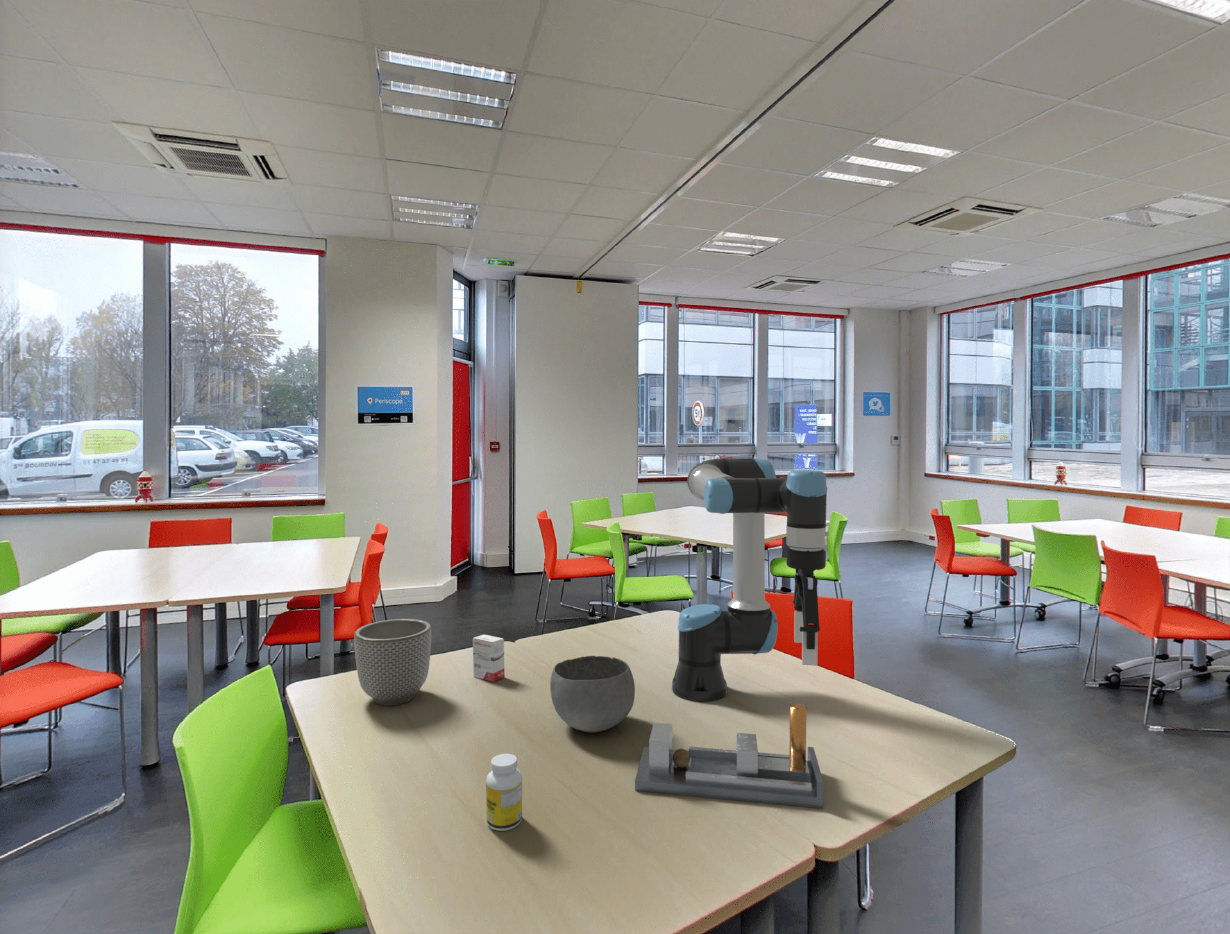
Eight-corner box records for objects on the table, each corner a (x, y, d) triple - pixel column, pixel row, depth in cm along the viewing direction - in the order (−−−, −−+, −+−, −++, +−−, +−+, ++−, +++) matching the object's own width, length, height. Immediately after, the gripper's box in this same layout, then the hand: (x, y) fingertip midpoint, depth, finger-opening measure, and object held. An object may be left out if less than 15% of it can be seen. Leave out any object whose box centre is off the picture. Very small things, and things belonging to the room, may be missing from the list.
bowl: (647, 717, 158) (647, 658, 157) (613, 753, 139) (613, 687, 138) (576, 702, 166) (575, 647, 166) (534, 735, 148) (534, 673, 147)
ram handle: (736, 780, 124) (737, 710, 123) (736, 760, 131) (736, 695, 131) (810, 786, 121) (811, 716, 121) (805, 766, 129) (806, 700, 128)
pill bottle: (488, 812, 117) (488, 751, 117) (523, 810, 118) (523, 750, 117) (484, 834, 111) (483, 769, 110) (521, 831, 111) (520, 768, 111)
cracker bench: (634, 790, 124) (634, 746, 124) (644, 755, 138) (644, 715, 138) (823, 808, 118) (823, 762, 118) (813, 770, 132) (813, 728, 131)
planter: (338, 706, 164) (337, 635, 163) (391, 680, 182) (390, 615, 182) (398, 718, 157) (396, 644, 156) (447, 689, 175) (446, 622, 174)
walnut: (668, 766, 130) (668, 749, 130) (681, 760, 132) (681, 743, 132) (681, 773, 127) (681, 755, 127) (693, 767, 129) (693, 750, 129)
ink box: (505, 677, 184) (505, 638, 184) (494, 682, 180) (493, 642, 180) (484, 671, 189) (483, 633, 188) (472, 676, 185) (472, 637, 184)
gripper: (836, 559, 112) (835, 676, 112) (816, 538, 136) (815, 635, 137) (793, 558, 113) (792, 674, 114) (781, 538, 138) (780, 633, 138)
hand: (805, 653), depth 125 cm, fingers open, 13 cm apart
